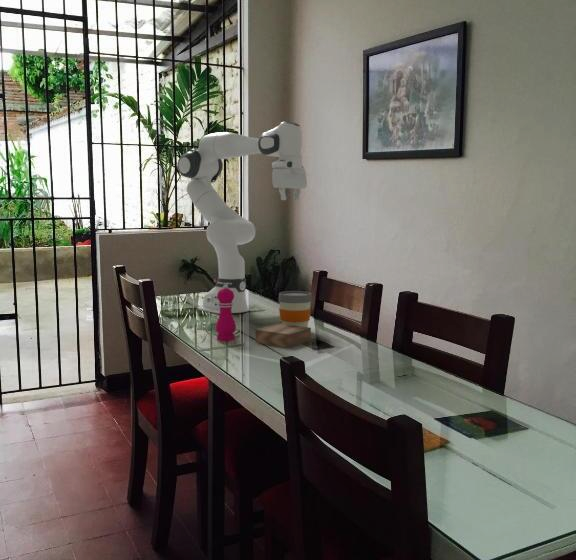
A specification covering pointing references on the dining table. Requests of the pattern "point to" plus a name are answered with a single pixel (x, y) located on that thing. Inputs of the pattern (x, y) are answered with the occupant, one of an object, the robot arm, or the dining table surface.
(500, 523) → the dining table surface
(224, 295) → the pepper mill
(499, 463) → the dining table surface
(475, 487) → the dining table surface
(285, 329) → the walnut block
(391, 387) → the dining table surface
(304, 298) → the reusable coffee cup
